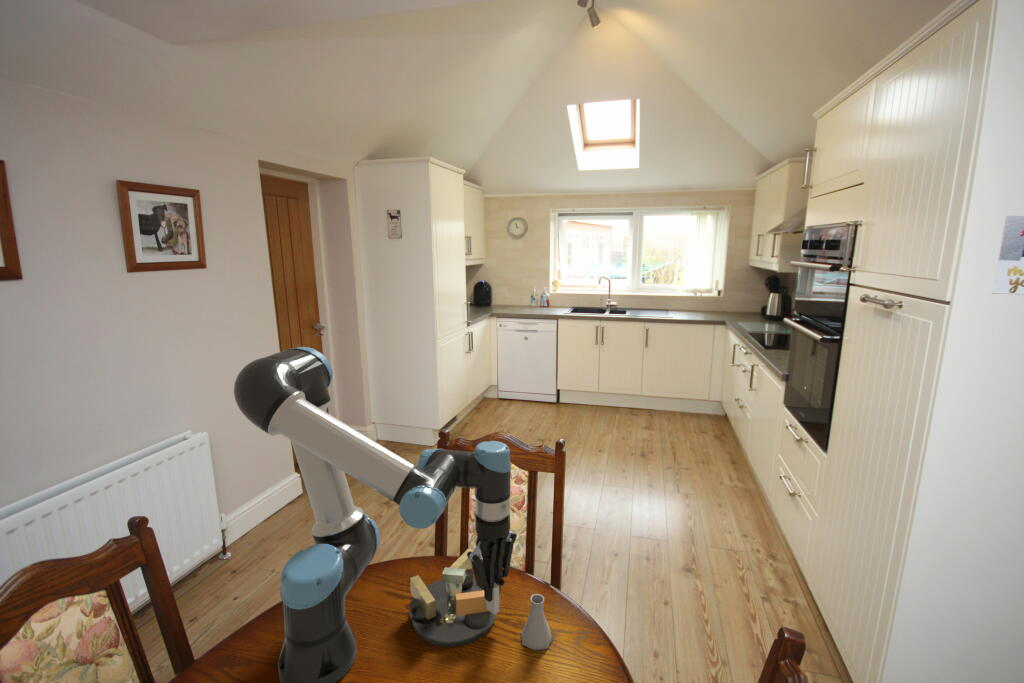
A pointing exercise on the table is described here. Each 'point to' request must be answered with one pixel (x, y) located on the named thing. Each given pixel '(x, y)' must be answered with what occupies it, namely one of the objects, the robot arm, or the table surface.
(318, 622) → the robot arm
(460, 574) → the round disc fixture
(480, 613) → the orange rectangular block
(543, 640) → the flask
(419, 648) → the table surface
